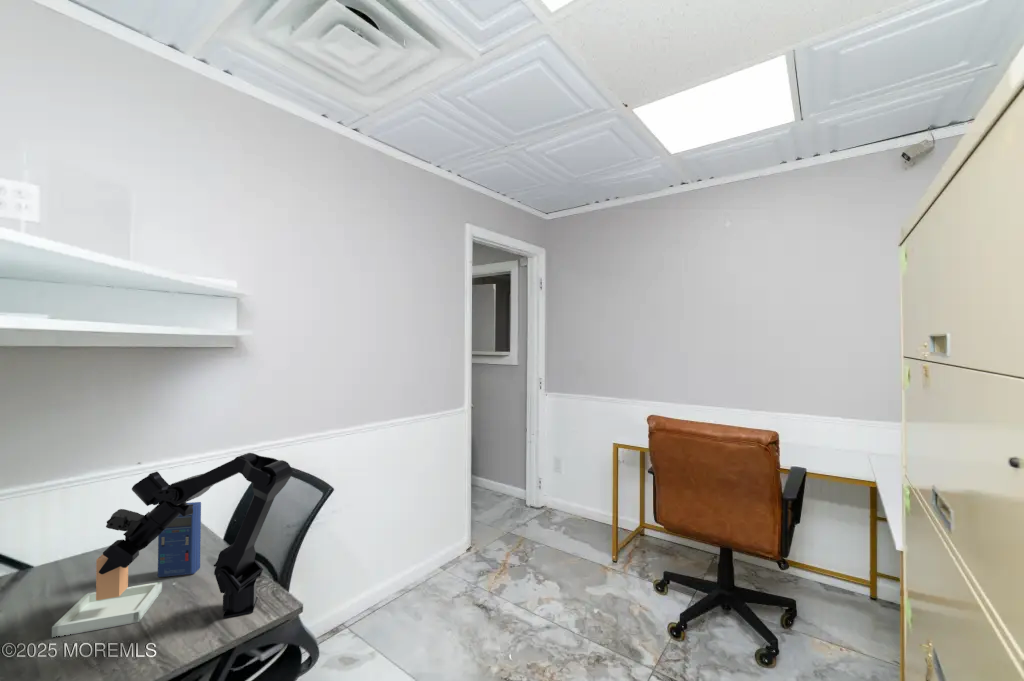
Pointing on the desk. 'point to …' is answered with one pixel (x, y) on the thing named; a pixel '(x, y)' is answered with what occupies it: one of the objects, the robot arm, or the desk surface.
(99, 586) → the block
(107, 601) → the tray
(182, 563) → the electronic device
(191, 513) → the robot arm
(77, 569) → the desk surface
